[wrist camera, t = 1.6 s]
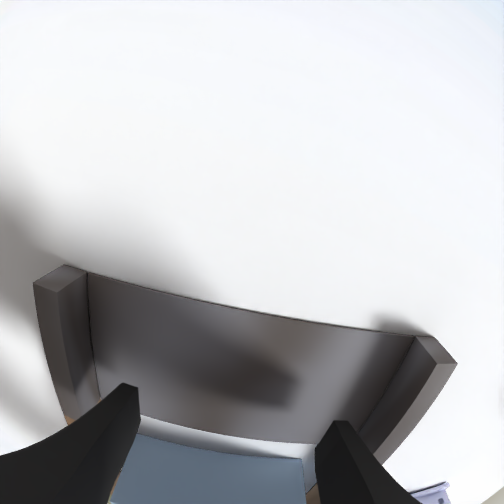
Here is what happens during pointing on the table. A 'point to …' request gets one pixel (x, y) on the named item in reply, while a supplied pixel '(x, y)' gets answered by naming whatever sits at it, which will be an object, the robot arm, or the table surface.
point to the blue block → (205, 477)
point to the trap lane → (233, 365)
